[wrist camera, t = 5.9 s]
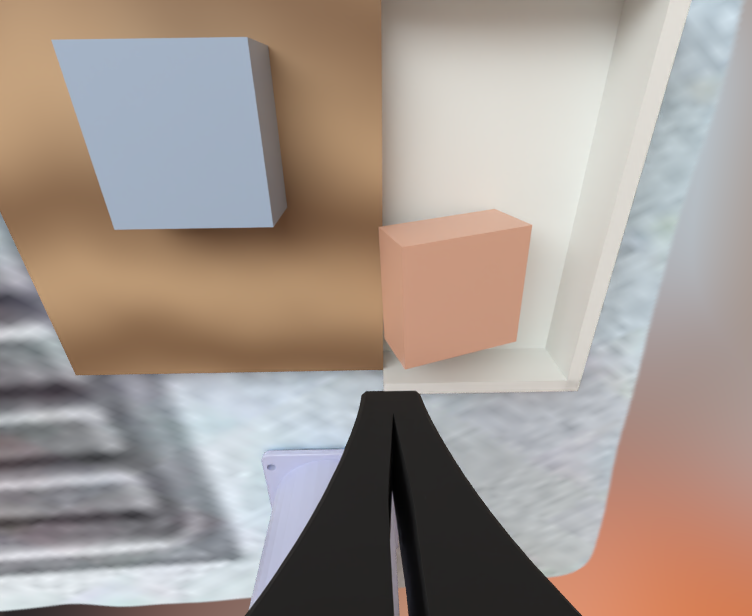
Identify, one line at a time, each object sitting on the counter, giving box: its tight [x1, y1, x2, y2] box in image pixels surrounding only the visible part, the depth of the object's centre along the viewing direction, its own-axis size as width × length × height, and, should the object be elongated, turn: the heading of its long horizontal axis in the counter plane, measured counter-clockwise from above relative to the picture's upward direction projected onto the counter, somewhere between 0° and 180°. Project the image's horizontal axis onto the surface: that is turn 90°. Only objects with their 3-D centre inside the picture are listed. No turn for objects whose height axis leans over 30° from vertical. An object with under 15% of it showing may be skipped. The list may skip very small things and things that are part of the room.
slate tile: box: [51, 37, 287, 230], centre depth 13 cm, size 5×5×2 cm
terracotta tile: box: [379, 209, 532, 369], centre depth 16 cm, size 5×5×2 cm
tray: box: [381, 0, 692, 394], centre depth 16 cm, size 15×9×3 cm, turn 1°
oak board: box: [0, 0, 383, 375], centre depth 16 cm, size 14×14×2 cm
